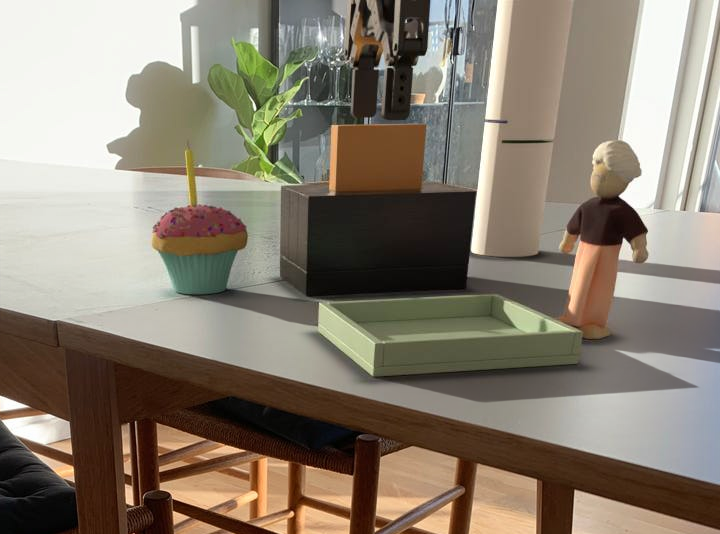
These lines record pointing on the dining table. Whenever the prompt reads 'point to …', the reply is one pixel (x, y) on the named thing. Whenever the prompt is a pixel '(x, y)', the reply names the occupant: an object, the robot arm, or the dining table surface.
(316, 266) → the wooden tissue box
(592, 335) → the grandmother figurine
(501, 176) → the cylindrical container
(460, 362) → the tray
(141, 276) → the dining table surface
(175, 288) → the cupcake
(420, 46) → the robot arm
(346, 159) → the toast
